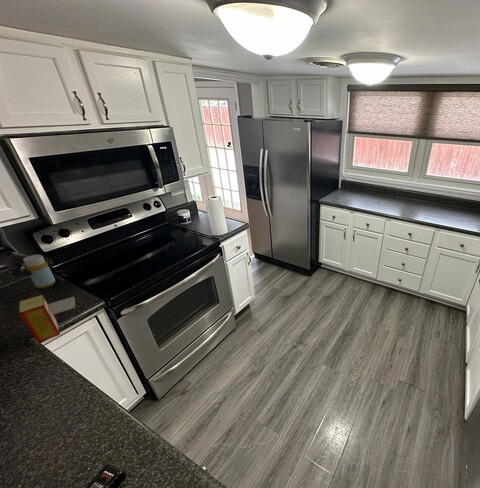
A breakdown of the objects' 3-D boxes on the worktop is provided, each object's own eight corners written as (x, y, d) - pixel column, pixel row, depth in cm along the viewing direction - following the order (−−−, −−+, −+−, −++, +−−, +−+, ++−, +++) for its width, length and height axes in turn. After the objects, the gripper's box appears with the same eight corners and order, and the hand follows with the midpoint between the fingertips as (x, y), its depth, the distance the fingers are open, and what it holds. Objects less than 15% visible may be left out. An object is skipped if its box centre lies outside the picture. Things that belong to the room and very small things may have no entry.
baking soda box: (60, 334, 110) (43, 304, 103) (38, 343, 106) (19, 312, 99) (58, 322, 116) (42, 293, 109) (37, 330, 112) (19, 300, 105)
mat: (40, 319, 118) (39, 318, 118) (40, 307, 125) (40, 306, 125) (75, 307, 125) (75, 307, 125) (74, 297, 133) (74, 296, 132)
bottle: (59, 282, 130) (46, 256, 123) (40, 290, 124) (26, 262, 118) (51, 279, 132) (38, 252, 126) (32, 286, 127) (18, 259, 120)
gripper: (-4, 262, 121) (16, 270, 116) (36, 249, 133) (56, 256, 128) (4, 276, 124) (24, 284, 119) (43, 262, 137) (62, 269, 131)
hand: (40, 269), depth 124 cm, fingers closed on bottle, 7 cm apart
